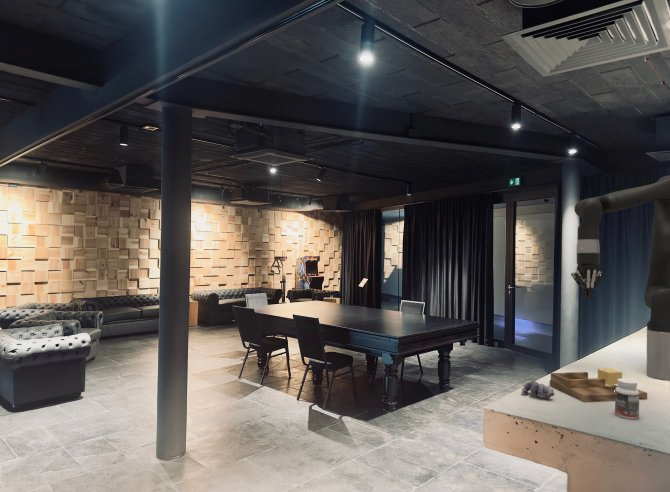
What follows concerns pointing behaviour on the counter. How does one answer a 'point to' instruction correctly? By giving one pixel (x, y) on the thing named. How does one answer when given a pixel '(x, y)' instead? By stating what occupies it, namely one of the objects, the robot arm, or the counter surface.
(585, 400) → the wooden compartment tray
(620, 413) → the pill bottle
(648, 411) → the counter surface
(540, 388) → the seashell
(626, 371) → the counter surface
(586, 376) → the cubby
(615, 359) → the counter surface
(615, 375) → the block
